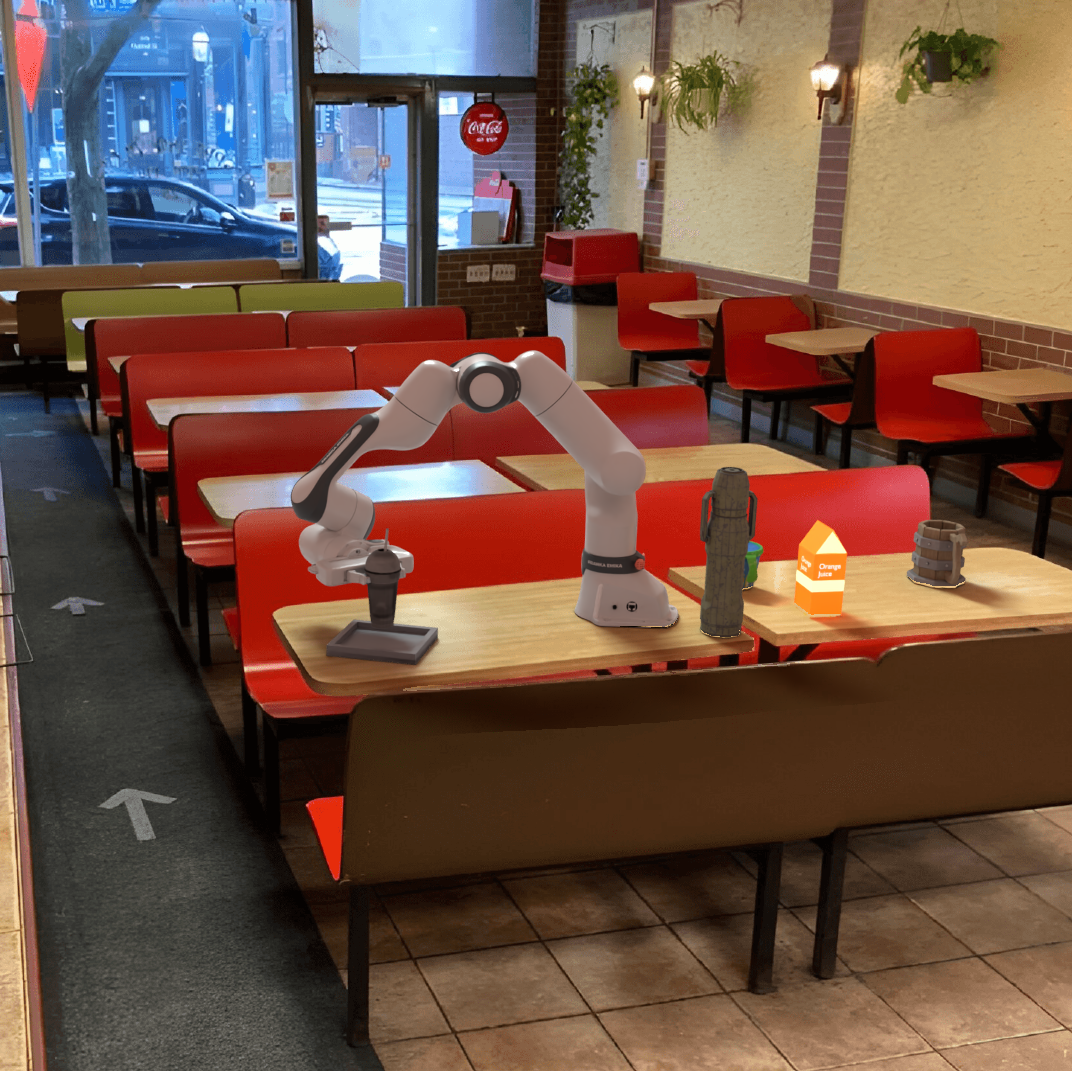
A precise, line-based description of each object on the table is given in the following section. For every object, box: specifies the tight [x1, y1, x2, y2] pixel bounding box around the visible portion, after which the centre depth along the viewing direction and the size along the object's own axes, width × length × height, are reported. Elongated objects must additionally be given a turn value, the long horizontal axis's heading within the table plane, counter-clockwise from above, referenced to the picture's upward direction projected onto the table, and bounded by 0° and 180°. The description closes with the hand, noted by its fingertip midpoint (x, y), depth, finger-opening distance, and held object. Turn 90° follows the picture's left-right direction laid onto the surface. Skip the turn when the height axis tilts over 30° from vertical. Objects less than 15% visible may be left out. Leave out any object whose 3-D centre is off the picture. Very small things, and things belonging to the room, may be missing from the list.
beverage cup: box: [364, 527, 401, 628], centre depth 262 cm, size 7×7×20 cm
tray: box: [325, 619, 439, 666], centre depth 265 cm, size 18×16×2 cm
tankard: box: [906, 519, 969, 586], centre depth 316 cm, size 20×13×15 cm, turn 3°
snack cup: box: [743, 540, 764, 588], centre depth 310 cm, size 16×10×10 cm
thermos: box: [699, 466, 759, 637], centre depth 276 cm, size 9×12×35 cm
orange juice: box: [793, 519, 848, 615], centre depth 293 cm, size 8×9×20 cm
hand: (385, 577), depth 261 cm, fingers closed on beverage cup, 7 cm apart
